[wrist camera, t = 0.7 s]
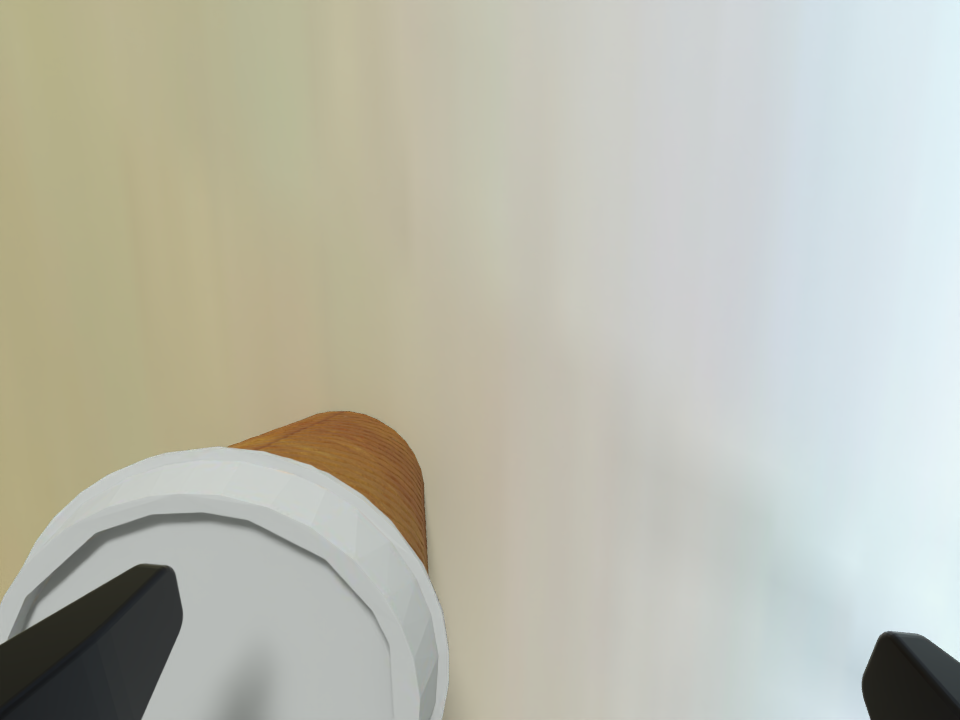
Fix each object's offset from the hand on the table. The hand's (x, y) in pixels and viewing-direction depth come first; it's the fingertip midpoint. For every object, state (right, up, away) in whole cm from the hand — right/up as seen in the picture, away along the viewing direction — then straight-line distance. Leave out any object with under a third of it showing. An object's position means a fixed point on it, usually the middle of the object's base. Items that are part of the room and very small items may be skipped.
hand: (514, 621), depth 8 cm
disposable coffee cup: (-6, -2, +16) cm, 17 cm away
